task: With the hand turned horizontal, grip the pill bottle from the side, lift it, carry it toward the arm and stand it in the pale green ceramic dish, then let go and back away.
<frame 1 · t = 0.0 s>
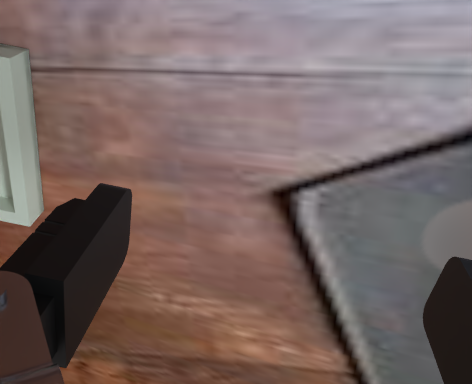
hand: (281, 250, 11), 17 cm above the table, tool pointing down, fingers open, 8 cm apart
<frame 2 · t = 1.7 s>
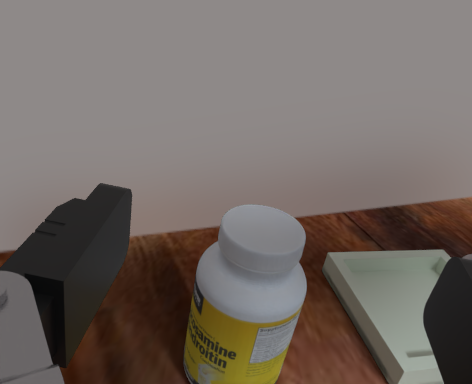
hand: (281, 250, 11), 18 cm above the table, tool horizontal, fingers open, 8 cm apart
pill bottle: (229, 369, 30), on the table
dish: (418, 317, 37), on the table
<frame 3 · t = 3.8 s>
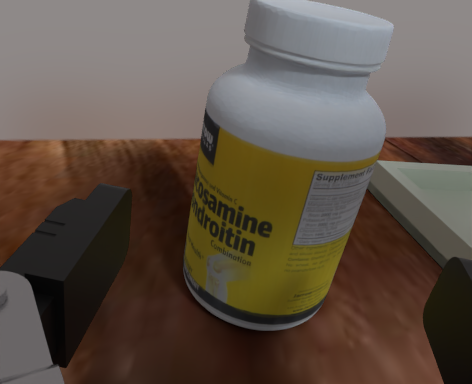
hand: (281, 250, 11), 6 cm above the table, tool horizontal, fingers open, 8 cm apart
pill bottle: (251, 286, 20), on the table
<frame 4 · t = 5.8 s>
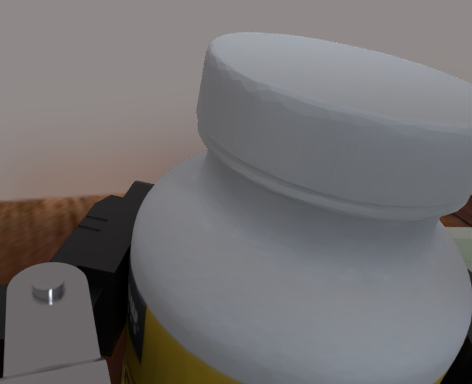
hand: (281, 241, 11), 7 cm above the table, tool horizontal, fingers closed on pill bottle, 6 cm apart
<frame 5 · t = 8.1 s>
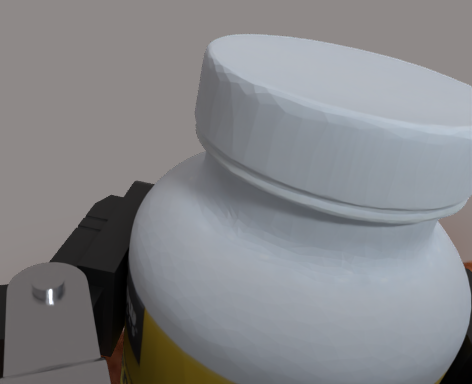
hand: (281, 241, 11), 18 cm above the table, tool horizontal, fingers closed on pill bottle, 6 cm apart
when the fingers open (8 cm above the table, at t = 10.6 s): pill bottle stays where it is, resting on dish.
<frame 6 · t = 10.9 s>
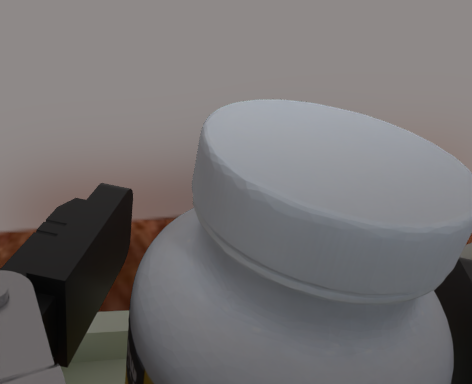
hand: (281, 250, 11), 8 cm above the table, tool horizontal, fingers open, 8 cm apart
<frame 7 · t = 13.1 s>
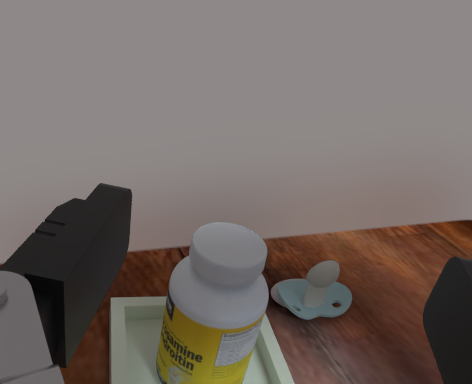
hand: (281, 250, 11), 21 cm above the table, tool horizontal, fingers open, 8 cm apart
pacifier: (303, 305, 42), on the table
pill bottle: (199, 374, 32), resting on dish
dish: (196, 375, 32), on the table
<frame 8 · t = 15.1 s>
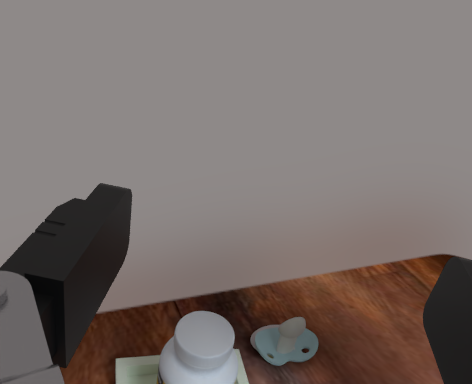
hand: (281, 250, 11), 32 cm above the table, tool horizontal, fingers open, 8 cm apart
pacifier: (278, 349, 50), on the table
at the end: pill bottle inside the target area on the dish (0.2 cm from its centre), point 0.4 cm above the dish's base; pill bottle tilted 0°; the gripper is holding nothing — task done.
